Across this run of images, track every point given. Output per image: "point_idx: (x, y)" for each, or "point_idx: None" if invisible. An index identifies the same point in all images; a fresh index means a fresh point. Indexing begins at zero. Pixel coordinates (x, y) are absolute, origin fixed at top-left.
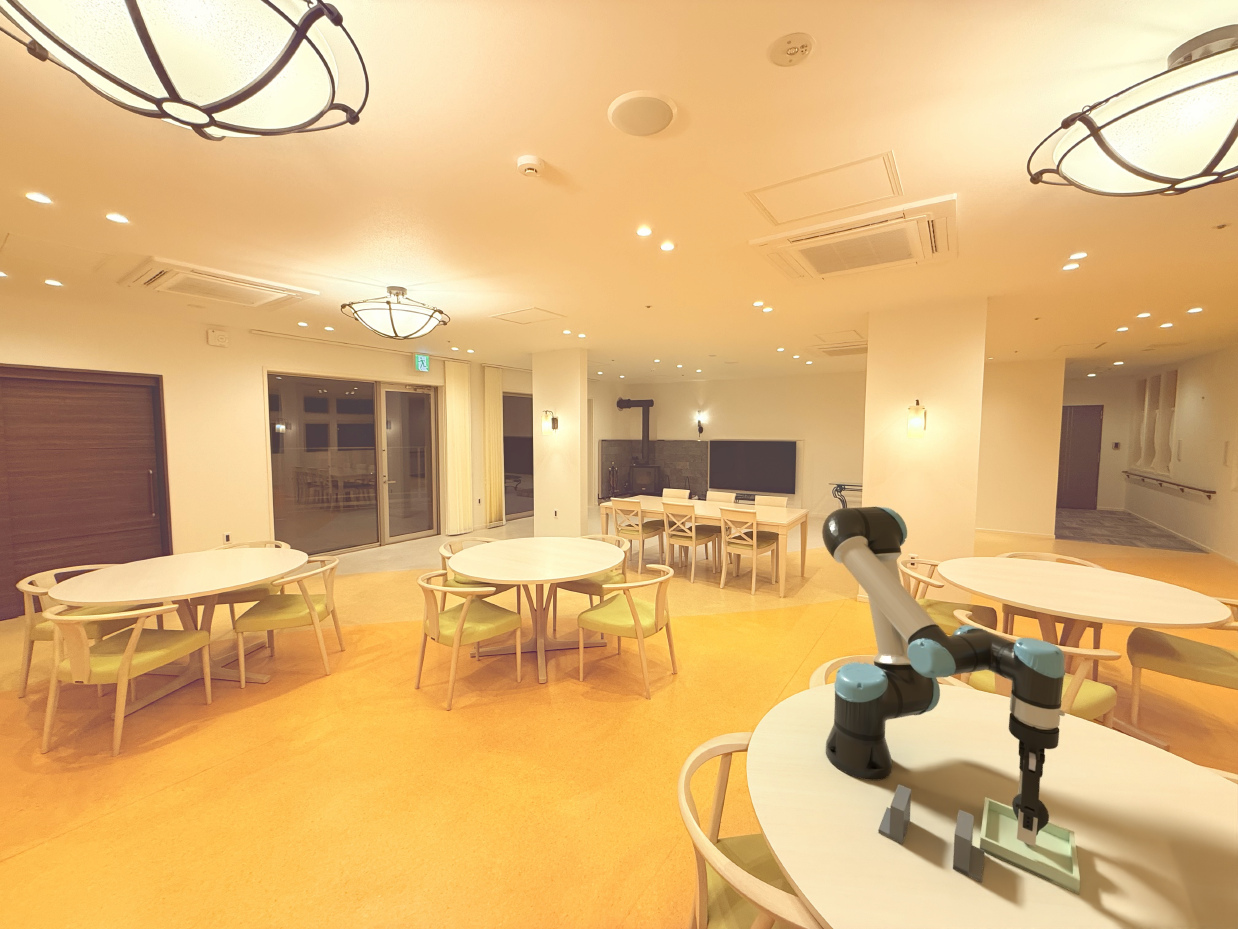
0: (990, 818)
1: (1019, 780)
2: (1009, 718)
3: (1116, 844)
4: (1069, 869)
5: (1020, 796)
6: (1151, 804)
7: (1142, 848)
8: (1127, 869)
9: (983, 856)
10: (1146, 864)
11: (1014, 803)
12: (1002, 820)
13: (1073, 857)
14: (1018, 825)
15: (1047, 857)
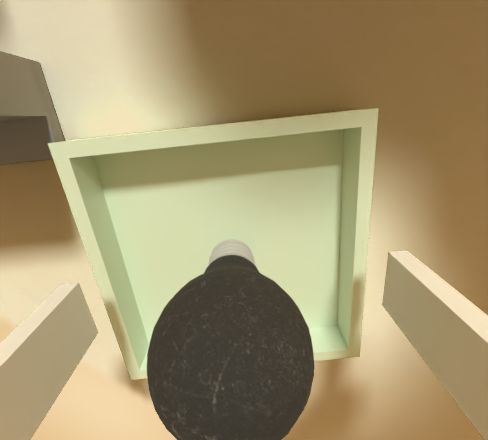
0: (283, 142)
1: (470, 327)
2: None
3: (411, 383)
4: None
5: (208, 381)
6: None
7: (430, 412)
8: (327, 398)
9: (25, 159)
10: (373, 418)
11: (184, 314)
12: (304, 178)
13: None
14: (8, 339)
15: None
